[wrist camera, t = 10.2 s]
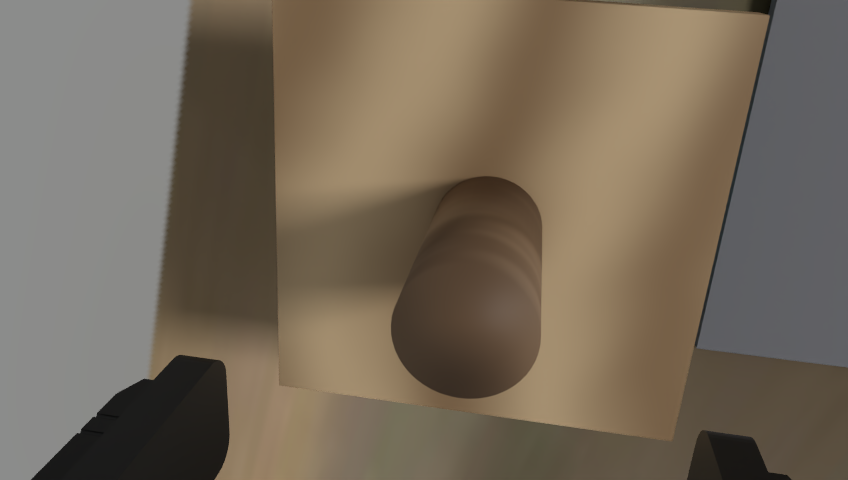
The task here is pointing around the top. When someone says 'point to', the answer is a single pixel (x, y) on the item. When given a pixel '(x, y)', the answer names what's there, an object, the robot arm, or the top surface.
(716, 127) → the lid
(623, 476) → the top surface
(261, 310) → the top surface
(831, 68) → the mat
